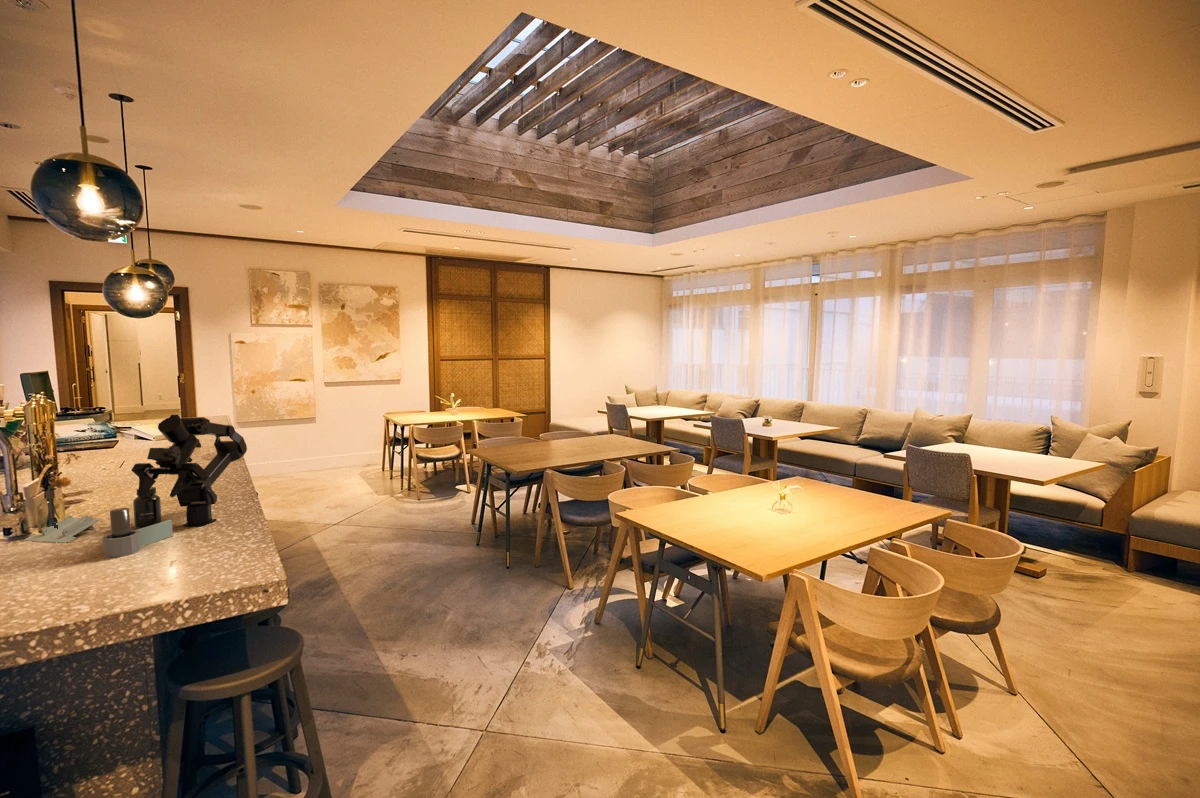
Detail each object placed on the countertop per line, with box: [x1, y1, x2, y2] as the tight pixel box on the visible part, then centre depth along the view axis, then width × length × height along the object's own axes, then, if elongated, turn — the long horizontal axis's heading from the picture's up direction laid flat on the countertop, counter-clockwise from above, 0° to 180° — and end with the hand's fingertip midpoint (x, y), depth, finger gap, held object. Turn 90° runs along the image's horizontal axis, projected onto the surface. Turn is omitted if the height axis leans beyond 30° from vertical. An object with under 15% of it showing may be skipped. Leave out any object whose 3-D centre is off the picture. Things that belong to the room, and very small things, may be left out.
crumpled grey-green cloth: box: [23, 514, 101, 544], centre depth 171 cm, size 14×6×15 cm
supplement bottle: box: [132, 486, 163, 529], centre depth 180 cm, size 7×7×12 cm
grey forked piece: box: [101, 519, 174, 558], centre depth 161 cm, size 18×13×5 cm
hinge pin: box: [109, 507, 131, 539], centre depth 156 cm, size 4×4×12 cm
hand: (155, 496), depth 163 cm, fingers open, 9 cm apart
